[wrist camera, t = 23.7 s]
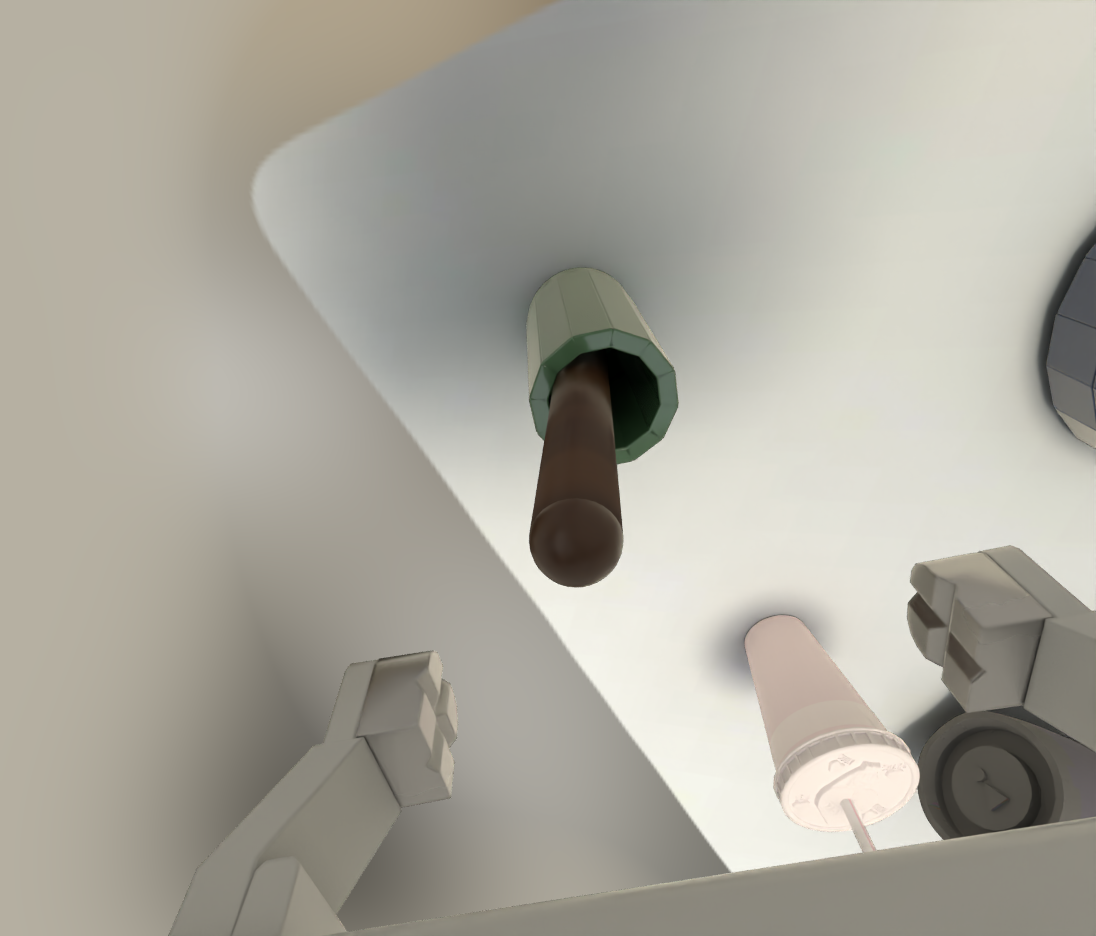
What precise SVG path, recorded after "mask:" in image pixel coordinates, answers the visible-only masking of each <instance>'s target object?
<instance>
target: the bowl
mask: <svg viewBox="0 0 1096 936" xmlns="http://www.w3.org/2000/svg"><path fill="white" fill-rule="evenodd" d="M1046 368H1047V373H1048V379H1049V384H1050V390H1051V395H1052V401H1053V406H1054V407H1055V410H1056V411H1057V412H1058V414H1059V415H1060V416H1061V418H1062V419H1063V420H1064V422H1065V423H1066V424H1067V426H1068V427H1069V428H1070V430H1071V431H1072V432H1073V434H1074V435H1075V436H1076V438H1077V439H1079V440H1081V441H1083V442H1084V443H1086V444H1088V445H1089V446H1091V447H1093V448H1095V449H1096V243H1095V245H1094V246H1093V247H1092V248H1091V249H1090V251H1089V252H1088V253H1087V254H1086V255H1085V258H1084V259H1083V261H1082V263H1081V265H1080V267H1079V269H1078V271H1077V273H1076V275H1075V277H1074V279H1073V281H1072V283H1071V285H1070V287H1069V289H1068V291H1067V293H1066V295H1065V297H1064V299H1063V301H1062V303H1061V305H1060V307H1059V309H1058V311H1057V314H1056V315H1055V320H1054V326H1053V331H1052V336H1051V341H1050V346H1049V352H1048V357H1047V362H1046Z"/></svg>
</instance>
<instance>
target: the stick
mask: <svg viewBox="0 0 1096 936" xmlns="http://www.w3.org/2000/svg"><path fill="white" fill-rule="evenodd" d="M529 544H530V551H531V554H532V557H533V559H534V562H535V563H536V565H537V567H538V568H539V569H540V570H541V572H542V573H543V574H544V575H545V576H547V577H548V578H549V579H551V580H552V581H554V582H556V583H558V584H560V585H564V586H567V587H585V586H590V585H592V584H595V583H597V582H599V581H601V580H602V579H604V578H605V577H606V576H607V575H608V574H610V573H611V572H612V570H613V569H614V568H615V566H616V565H617V563H618V561H619V558H620V556H621V554H622V548H623V529H622V518H621V507H620V496H619V485H618V473H617V462H616V451H615V440H614V429H613V418H612V407H611V396H610V385H609V374H608V363H607V351H606V349H601V350H597V351H592V352H587V353H582V354H580V355H579V356H577V357H576V358H575V359H574V360H573V361H572V362H570V363H569V364H568V365H567V366H566V367H564V368H563V369H562V370H561V371H560V372H558V374H557V377H556V380H555V382H554V385H553V390H552V396H551V403H550V409H549V415H548V421H547V428H546V434H545V440H544V446H543V453H542V459H541V465H540V471H539V478H538V484H537V490H536V496H535V503H534V509H533V515H532V521H531V528H530V534H529Z"/></svg>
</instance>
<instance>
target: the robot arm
mask: <svg viewBox="0 0 1096 936" xmlns="http://www.w3.org/2000/svg"><path fill="white" fill-rule="evenodd" d="M910 583H911V584H912V586H913V587H914V588H915V589H916V590H917V593H916V594H915V595H914V596H913V598H912V599H911V600H910V601H909V602H908V608H907V620H908V625H909V629H910V633H911V635H912V637H913V640H914V642H915V644H916V646H917V647H918V649H919V650H920V651H921V653H922V654H923V656H924V657H925V658H926V659H928V660H930V661H932V662H934V663H935V664H937V665H939V666H941V667H943V672H942V679H941V680H942V681H943V683H944V684H945V685H946V687H947V688H948V689H949V691H950V692H951V693H952V694H953V696H954V697H955V698H956V700H957V701H958V702H959V704H960V705H961V706H962V708H963V709H964V710H965V712H966V713H971V712H979V711H986V710H993V709H1001V708H1008V707H1015V706H1022V705H1024V707H1023V708H1024V709H1025V710H1027V711H1029V712H1030V713H1032V714H1034V715H1035V716H1037V717H1039V718H1040V719H1042V720H1043V721H1045V722H1047V723H1048V724H1050V725H1052V726H1053V727H1055V728H1057V729H1058V730H1060V731H1061V732H1063V733H1065V734H1066V735H1068V736H1070V737H1071V738H1073V739H1075V740H1076V741H1078V742H1079V743H1081V744H1083V745H1084V746H1086V747H1088V748H1089V749H1091V750H1093V751H1094V752H1096V611H1091V610H1090V609H1089V608H1088V607H1086V606H1085V605H1084V604H1083V603H1082V602H1081V601H1079V600H1078V599H1077V598H1076V597H1075V596H1074V595H1072V594H1071V593H1070V592H1069V591H1068V590H1067V589H1066V588H1064V587H1063V586H1062V585H1061V584H1060V583H1059V582H1057V581H1056V580H1055V579H1054V578H1053V577H1052V576H1050V575H1049V574H1048V573H1047V572H1046V571H1045V570H1044V569H1042V568H1041V567H1040V566H1039V565H1038V564H1037V563H1035V562H1034V561H1033V560H1032V559H1031V558H1030V557H1029V556H1027V555H1026V554H1025V553H1024V552H1023V551H1022V550H1020V549H1019V548H1016V547H1014V546H1011V545H1009V546H1004V547H999V548H994V549H989V550H984V551H979V552H977V553H969V554H964V555H959V556H953V557H948V558H943V559H937V560H932V561H927V562H921V563H916V564H915V566H914V567H913V569H912V570H911V578H910ZM442 671H443V664H442V662H441V660H440V657H439V655H438V653H437V652H436V651H426V652H420V653H413V654H407V655H401V656H394V657H388V658H381V659H378V660H373V661H366V662H359V663H352V664H350V666H349V667H348V668H347V669H346V671H345V673H344V676H343V679H342V683H341V686H340V689H339V692H338V696H337V699H336V702H335V705H334V709H333V712H332V715H331V718H330V721H329V725H328V728H327V731H326V734H325V738H324V741H323V744H319V745H314V746H313V747H312V748H311V749H310V750H309V751H308V752H307V753H306V754H305V755H304V757H303V758H302V759H301V760H300V761H299V762H298V763H297V764H296V765H295V766H294V767H293V768H292V769H291V770H290V771H289V772H288V774H286V775H285V777H284V778H283V779H282V780H281V781H280V782H279V783H278V784H277V785H276V786H275V787H274V788H273V789H272V790H271V791H270V792H269V793H268V794H267V795H266V796H265V797H264V798H263V800H262V801H261V802H260V803H259V804H258V805H257V806H256V807H255V808H254V809H253V810H252V811H251V812H250V813H249V814H248V815H247V816H246V817H245V819H243V821H242V822H241V823H240V824H239V825H238V826H237V827H236V828H235V829H234V830H233V831H232V832H231V833H230V834H229V835H228V836H227V837H226V838H225V839H224V841H222V843H221V844H220V845H219V846H218V847H217V848H216V849H215V850H214V851H213V852H212V853H211V854H210V856H208V857H207V858H206V859H205V860H204V861H203V862H202V864H201V865H200V866H199V867H198V868H197V869H196V872H195V874H194V876H193V879H192V881H191V883H190V886H189V888H188V891H187V893H186V895H185V898H184V900H183V902H182V905H181V907H180V909H179V912H178V914H177V916H176V919H175V921H174V923H173V926H172V928H171V930H170V933H169V935H168V936H1096V817H1090V818H1084V819H1077V820H1071V821H1064V822H1058V823H1051V824H1045V825H1038V826H1032V827H1025V828H1019V829H1012V830H1006V831H999V832H993V833H986V834H980V835H973V836H967V837H961V838H954V839H948V840H941V841H935V842H928V843H922V844H915V845H909V846H902V847H896V848H889V849H883V850H876V851H870V852H864V853H857V854H851V855H844V856H838V857H831V858H825V859H818V860H812V861H805V862H799V863H792V864H786V865H779V866H773V867H766V868H760V869H753V870H747V871H740V872H734V873H727V874H721V875H714V876H708V877H701V878H695V879H689V880H681V881H676V882H668V883H662V884H655V885H649V886H643V887H636V888H629V889H623V890H616V891H610V892H603V893H597V894H591V895H584V896H577V897H571V898H564V899H558V900H551V901H545V902H538V903H532V904H525V905H519V906H512V907H506V908H499V909H493V910H486V911H479V912H473V913H467V914H460V915H454V916H447V917H440V918H434V919H427V920H422V921H415V922H409V923H401V924H395V925H388V926H382V927H375V928H369V929H363V930H356V931H349V932H347V930H346V929H345V927H344V926H343V924H342V923H341V922H340V920H339V919H338V917H337V916H336V915H337V913H338V912H339V910H340V908H341V907H342V905H343V904H344V902H345V900H346V899H347V897H348V896H349V894H350V892H351V891H352V889H353V888H354V886H355V884H356V883H357V881H358V880H359V878H360V877H361V875H362V873H363V872H364V870H365V869H366V867H367V866H368V864H369V862H370V861H371V859H372V858H373V856H374V854H375V853H376V851H377V850H378V848H379V846H380V845H381V843H382V842H383V840H384V838H385V837H386V835H387V834H388V832H389V831H390V829H391V827H392V826H393V824H394V823H395V821H396V819H397V818H398V816H399V815H400V813H401V811H402V810H401V808H403V807H408V806H413V805H418V804H423V803H429V802H434V801H439V800H444V799H449V798H451V793H452V783H453V774H454V764H455V762H454V759H453V756H452V754H451V752H450V749H449V748H450V747H451V745H452V744H453V743H454V742H455V740H456V739H457V730H458V715H457V705H456V700H455V696H454V692H453V689H452V687H451V684H450V683H449V682H447V681H445V680H444V679H442Z"/></svg>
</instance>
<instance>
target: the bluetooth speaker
mask: <svg viewBox="0 0 1096 936" xmlns="http://www.w3.org/2000/svg"><path fill="white" fill-rule="evenodd" d="M918 768H919V772H920V779H919V783H918V786H917V788H918V795H919V799H920V802H921V806H922V808H923V811H924V813H925V815H926V817H927V819H928V821H929V823H930V824H931V825H932V827H933V828H934V830H935V831H936V832H937V833H938V834H939V836H940V837H941V838H942V839H943V840H948V839H954V838H961V837H967V836H973V835H980V834H986V833H993V832H999V831H1006V830H1012V829H1019V828H1025V827H1032V826H1038V825H1045V824H1051V823H1058V822H1064V821H1071V820H1077V819H1084V818H1090V817H1096V752H1094V751H1093V750H1091V749H1089V748H1088V747H1086V746H1084V745H1083V744H1081V743H1079V742H1076V741H1074V740H1072V739H1070V738H1067V737H1064V736H1061V735H1059V734H1056V733H1054V732H1052V731H1049V730H1047V729H1044V728H1042V727H1040V726H1037V725H1034V724H1032V723H1029V722H1026V721H1023V720H1020V719H1017V718H1013V717H1010V716H1006V715H1003V714H999V713H994V712H989V711H979V712H971V713H963V714H960V715H958V716H956V717H954V718H953V719H951V720H950V721H948V722H947V723H945V724H944V725H943V726H942V727H940V728H939V729H938V730H937V731H936V732H935V733H934V734H933V735H932V736H931V737H930V738H929V739H928V741H927V742H926V744H925V746H924V748H923V750H922V752H921V754H920V758H919V762H918Z"/></svg>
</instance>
